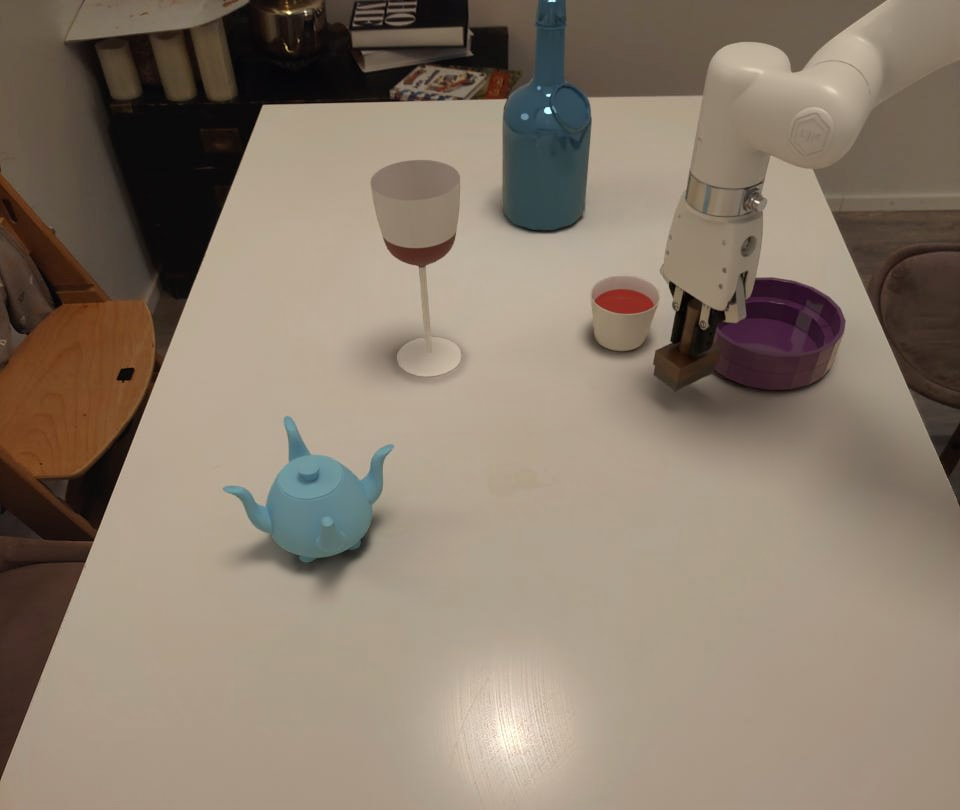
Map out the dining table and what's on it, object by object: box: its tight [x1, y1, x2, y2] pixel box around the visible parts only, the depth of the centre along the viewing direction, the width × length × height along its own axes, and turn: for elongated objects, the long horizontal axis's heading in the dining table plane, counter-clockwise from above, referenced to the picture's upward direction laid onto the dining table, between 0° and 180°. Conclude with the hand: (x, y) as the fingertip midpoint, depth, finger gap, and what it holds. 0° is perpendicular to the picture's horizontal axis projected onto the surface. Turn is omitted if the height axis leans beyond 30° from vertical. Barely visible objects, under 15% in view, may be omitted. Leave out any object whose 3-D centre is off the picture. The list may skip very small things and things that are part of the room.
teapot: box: [222, 415, 395, 563], centre depth 91 cm, size 13×13×10 cm
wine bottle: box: [501, 0, 593, 231], centre depth 123 cm, size 14×13×30 cm
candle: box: [589, 274, 661, 352], centre depth 113 cm, size 9×9×6 cm
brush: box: [652, 298, 722, 392], centre depth 101 cm, size 7×4×10 cm, turn 125°
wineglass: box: [370, 159, 462, 378], centre depth 104 cm, size 9×10×23 cm
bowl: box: [712, 276, 847, 391], centre depth 111 cm, size 17×17×6 cm
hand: (690, 344), depth 102 cm, fingers closed on brush, 2 cm apart
